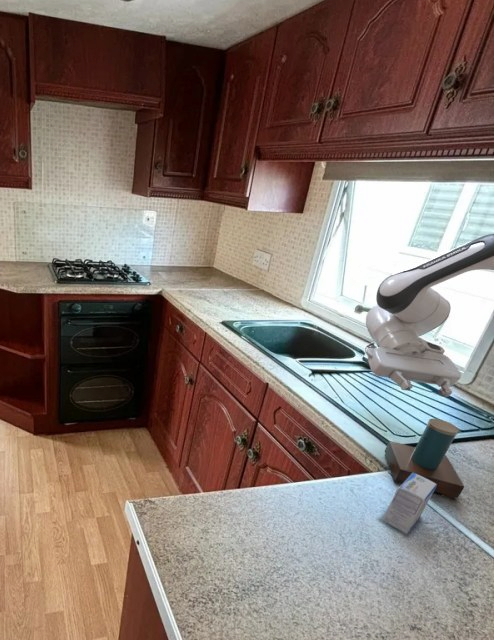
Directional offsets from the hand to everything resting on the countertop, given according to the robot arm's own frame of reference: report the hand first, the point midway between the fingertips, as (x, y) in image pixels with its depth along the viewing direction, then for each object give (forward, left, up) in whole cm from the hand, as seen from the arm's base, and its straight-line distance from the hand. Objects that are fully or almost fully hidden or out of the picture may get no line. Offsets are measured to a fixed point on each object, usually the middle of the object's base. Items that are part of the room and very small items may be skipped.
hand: (427, 391), depth 93 cm
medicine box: (+4, +25, -18) cm, 31 cm away
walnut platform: (-3, +7, -18) cm, 20 cm away
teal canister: (-3, +7, -14) cm, 16 cm away
